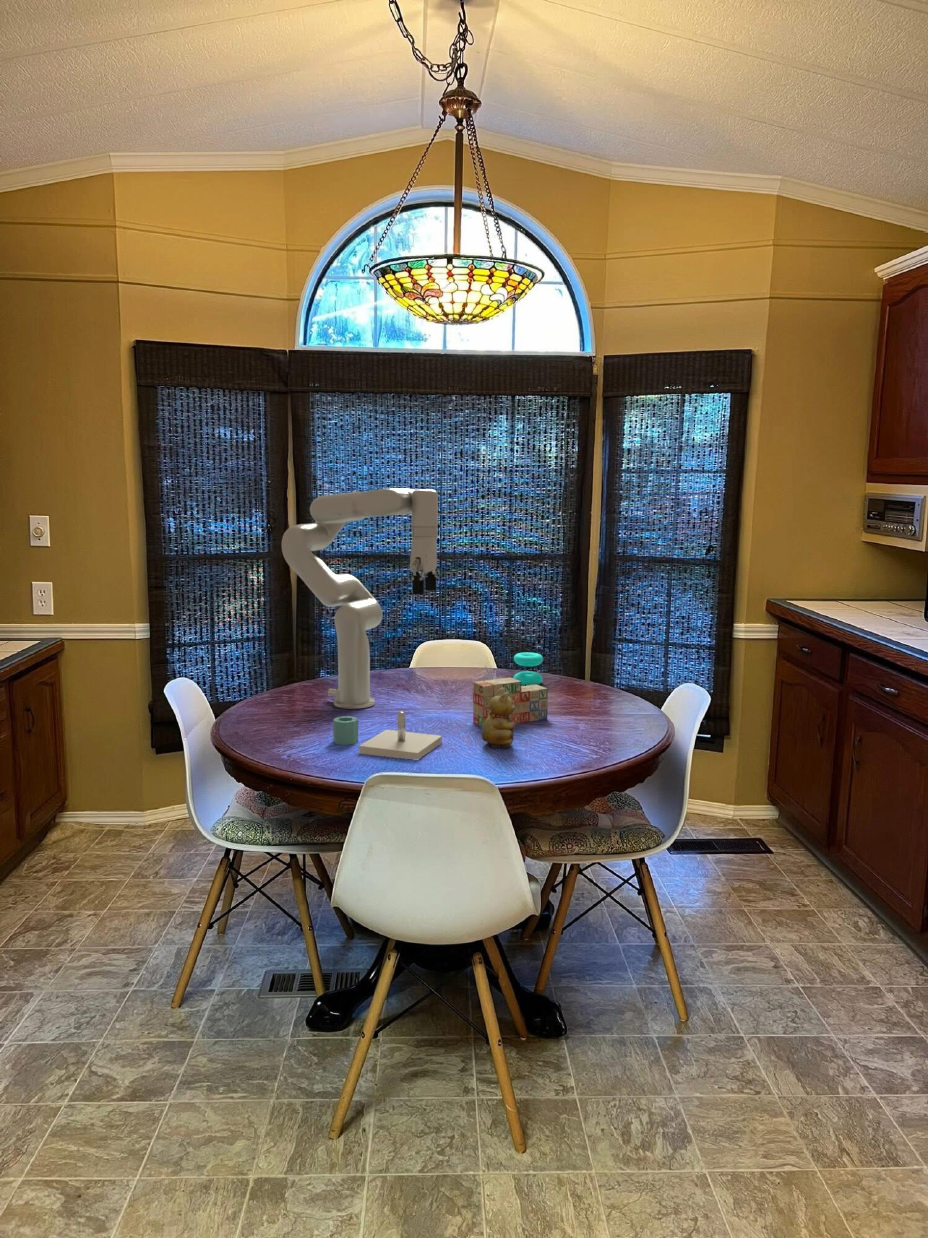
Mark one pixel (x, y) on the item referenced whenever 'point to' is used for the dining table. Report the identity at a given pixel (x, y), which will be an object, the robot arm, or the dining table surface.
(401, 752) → the board
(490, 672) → the water lily
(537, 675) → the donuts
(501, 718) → the decorative figurine
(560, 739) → the dining table surface
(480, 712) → the stack of blocks
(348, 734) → the bead
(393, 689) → the dining table surface
